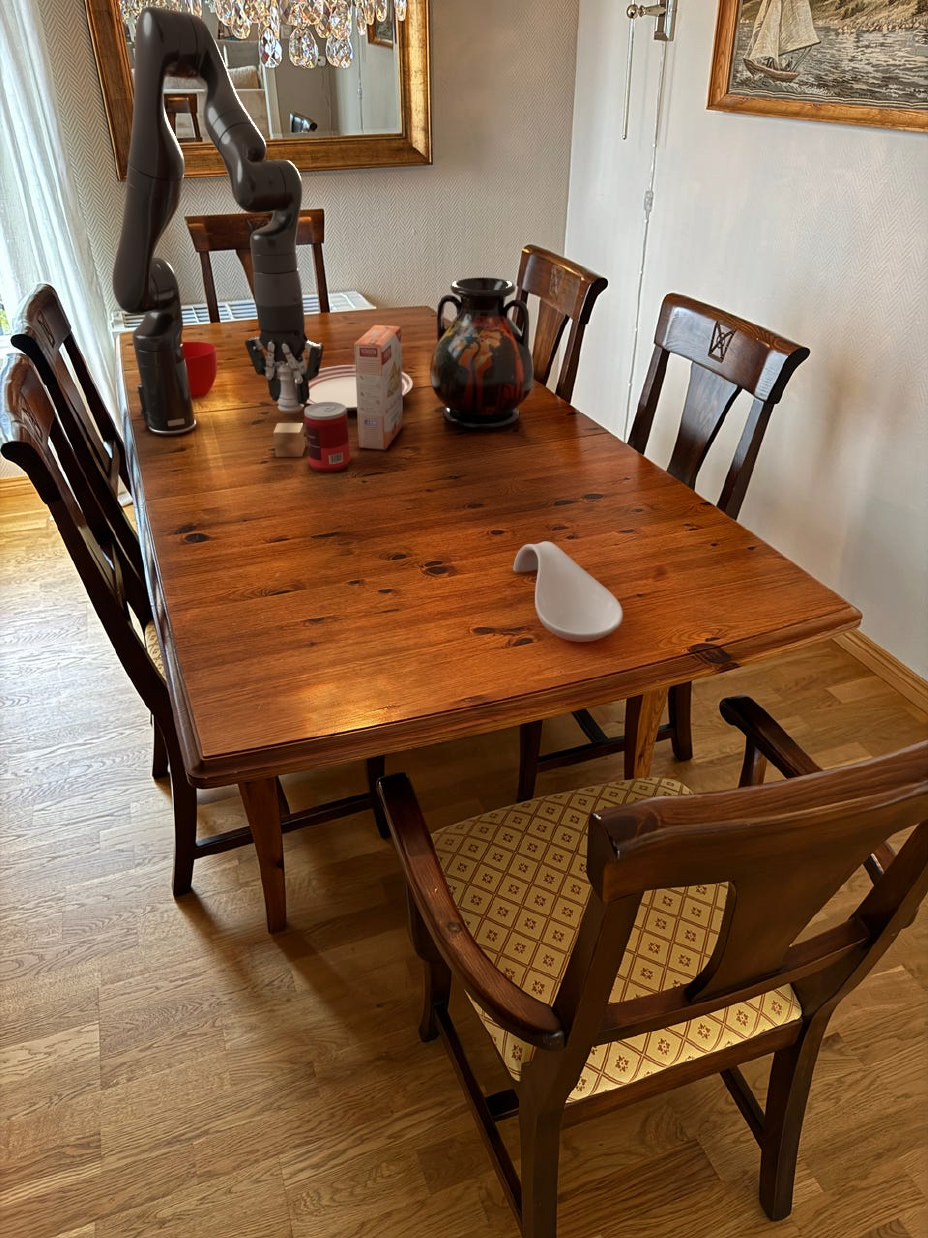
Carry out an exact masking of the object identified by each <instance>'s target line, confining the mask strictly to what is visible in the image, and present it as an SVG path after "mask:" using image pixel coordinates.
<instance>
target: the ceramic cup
mask: <svg viewBox="0 0 928 1238" xmlns="http://www.w3.org/2000/svg"><path fill="white" fill-rule="evenodd" d="M182 345H183V351H184V357H185V362H186V368H187V374H188V380H189V386H190V392H191V398H192V399H196V398H197V399H198V398H202V397H204V396H206V395H208V393H209V392H210V390H211V389H212V387H213V385H214V383H215V381H216V378H217V373H218V356H217V355H218V354H217V348H216V346H215V345H214V344H212V343H210V342H206V341H205V342H204V341H182Z"/></svg>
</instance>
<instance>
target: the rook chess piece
mask: <svg viewBox="0 0 928 1238" xmlns="http://www.w3.org/2000/svg"><path fill="white" fill-rule="evenodd" d="M278 364H279V366H278V368H277V371H278V372H279V376H278V377H279V379H280V381H281V393H280V395H279V396H280V398H279V399H278V401H277V409H278V410H279V411H280V412H281V413H284V414H294V413H299V412H300V411H302V410H303V409H304V406H305V405H304V404H299V403H298V397H297V388H296V384H295V380H296V378H295V375H294V372H293V371H292V370H291V369H290V366H289V363H286V362H284V361H282V362H279V363H278Z"/></svg>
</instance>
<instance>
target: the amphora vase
mask: <svg viewBox="0 0 928 1238" xmlns="http://www.w3.org/2000/svg"><path fill="white" fill-rule="evenodd" d="M516 289H517V287H516V285H515V284H514V282H512V281H509V280H507V279H504V278H496V277H482V276H481V277H468V278H462V279H458V280H456V281H454V282H452V284H451V285H450V291H451V292H452V293H453V294H454V295H452V294H446V295H444V296H442V297H441V298H440V301H439V302H438V305H437V310H436V336H437V337H436V346H435V349H434V351H433V353H432V356H431V360H430V366H429V374H430V375H429V376H430V377H429V378H430V383H431V387H432V390H433V393H434V394H435V396H436V397H437V399H438V400H439V402H440V403H442V405H443V406H444V408H443V411H442V417H443V418H442V419H443V420H444V421H445V422H446V423H447V424H448V425H449V426H451V427H453V428H455V429H457V430H462V431H464V432H465V431H466V432H472V433H493V432H498V431H499V432H500V431H503V430H506V429H508V428H511V427H513V426H514V425H515V424H516V423H517V422H519V420H520V417H521V413H520V410H519V408H518V407H519V406H520V405H521V404H522V403H523V402H525V400H526V399H527V397H528V396H529V394H530V392H531V389H532V387H533V383H534V375H535V368H534V358H533V355H532V353H531V350H530V347H529V346H530V311H529V308H528V306H527V304H526V303H525V302H523V301H522V300H521V299H512V300H510V301H509V302H507V303H506V299H507V297H509V296H511V295H513V294H515V292H516ZM455 295H456V296H455ZM457 296H458V297H459V298H458V297H457ZM447 303H452V304H453V306H454V307H455V309H456V317H455V318H454V319H453V320H452V321H451V322H450V323H449V324H448V325H447V327H446V328H445V319H444V313H445V306H446V304H447ZM505 303H506V304H505ZM513 307H515V308H518V309H519V310H520V313H521V317H522V329H521V330H520V329H519V327H518V326H517V324H516V323H515V322H514V321H513V320H512V319H511V317H510V310H511V309H512V308H513Z"/></svg>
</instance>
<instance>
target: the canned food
mask: <svg viewBox="0 0 928 1238" xmlns="http://www.w3.org/2000/svg"><path fill="white" fill-rule="evenodd" d="M303 414H304V415H303V416H304V424H305V436H306V445H307V455H308V463H309V465H310V468H311V469H313V470H314V471H317V472H323V473H332V472H338V471H341V470H343V469H346V468H347V467H348V466H349V465H350V462H351V454H350V453H351V452H350V437H349V436H350V435H349V422H348V420H349V419H348V411H347V410H346V406H345V405H343V404H340V403H336V402H321V403H316V404H312V405H310V404H309V405H308V406H306V407H305V408H304V413H303Z"/></svg>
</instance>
